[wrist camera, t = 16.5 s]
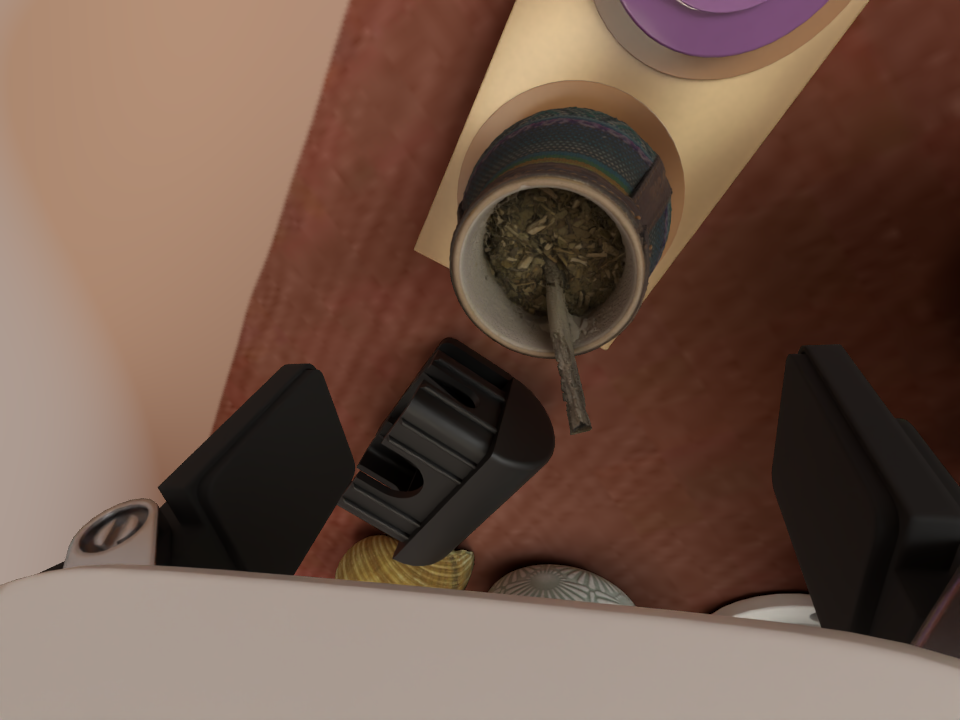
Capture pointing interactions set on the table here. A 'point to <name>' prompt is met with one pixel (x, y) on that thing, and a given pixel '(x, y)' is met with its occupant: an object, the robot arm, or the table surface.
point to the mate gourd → (560, 238)
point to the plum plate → (718, 23)
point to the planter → (560, 585)
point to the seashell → (402, 566)
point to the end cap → (449, 454)
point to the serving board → (637, 101)
